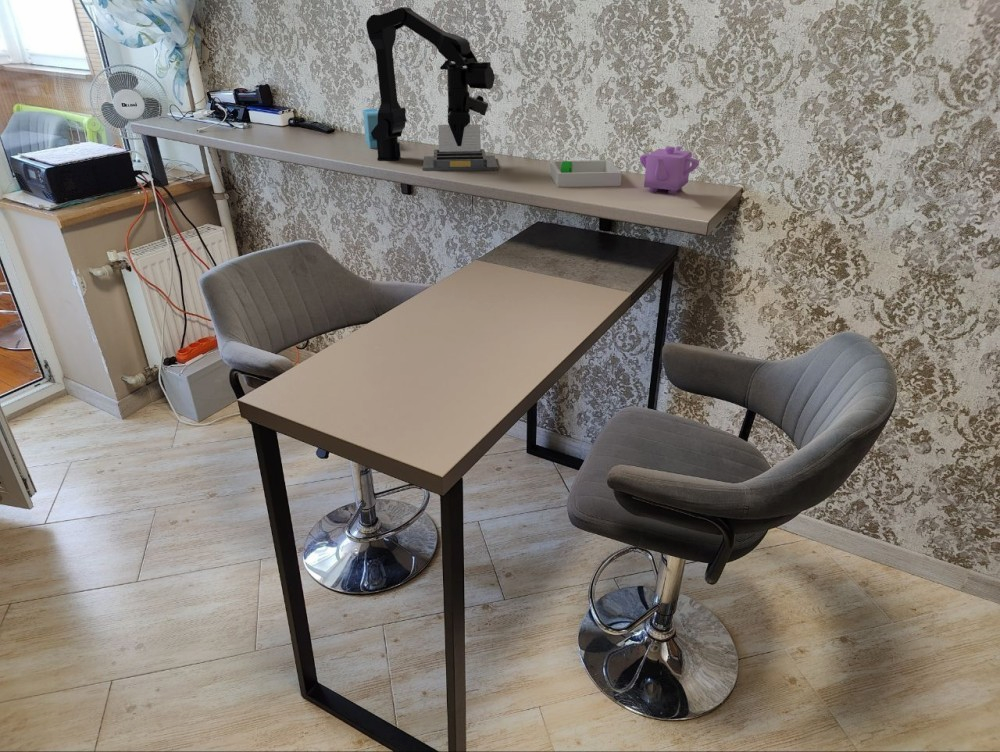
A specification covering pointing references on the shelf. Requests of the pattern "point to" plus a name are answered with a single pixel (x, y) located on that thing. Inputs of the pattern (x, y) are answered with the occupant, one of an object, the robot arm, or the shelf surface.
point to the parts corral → (586, 174)
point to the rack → (460, 161)
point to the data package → (370, 126)
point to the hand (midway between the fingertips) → (459, 145)
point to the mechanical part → (566, 167)
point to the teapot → (667, 169)
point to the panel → (468, 142)
